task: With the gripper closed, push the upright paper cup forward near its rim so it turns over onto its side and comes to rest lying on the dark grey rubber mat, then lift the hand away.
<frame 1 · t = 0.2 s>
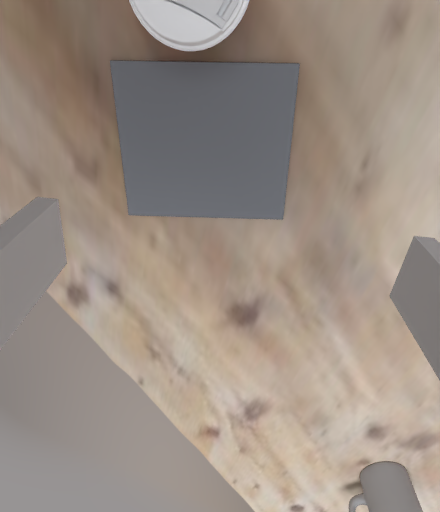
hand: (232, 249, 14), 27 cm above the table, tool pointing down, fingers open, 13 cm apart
mug: (373, 475, 69), on the table
rubber mat: (205, 146, 39), on the table
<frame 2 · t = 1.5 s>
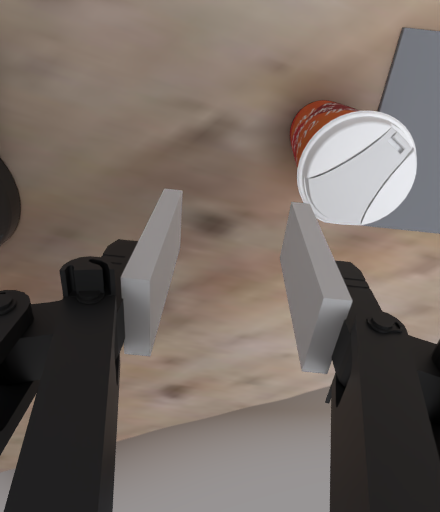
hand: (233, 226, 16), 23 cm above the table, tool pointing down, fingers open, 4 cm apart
paper cup: (318, 131, 35), on the table
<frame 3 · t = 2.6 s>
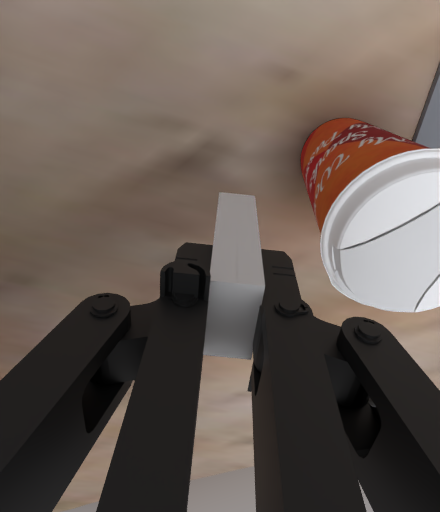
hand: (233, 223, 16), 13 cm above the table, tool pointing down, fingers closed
paper cup: (336, 156, 27), on the table
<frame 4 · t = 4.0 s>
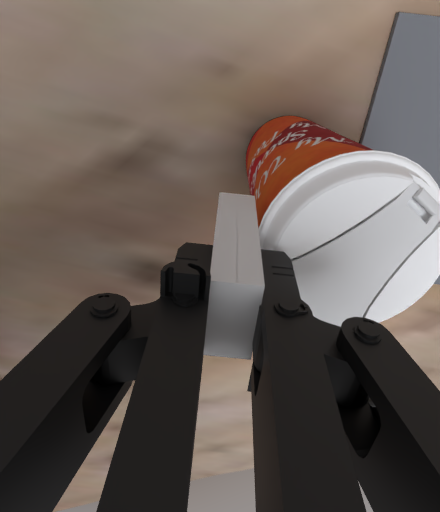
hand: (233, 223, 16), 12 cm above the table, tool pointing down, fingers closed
paper cup: (283, 156, 26), on the table
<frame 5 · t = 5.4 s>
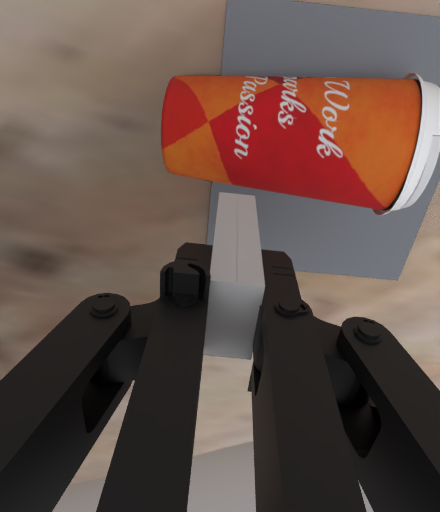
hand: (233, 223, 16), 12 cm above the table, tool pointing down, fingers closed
paper cup: (170, 127, 22), point 3 cm above the table, touching rubber mat
rubber mat: (326, 161, 26), on the table
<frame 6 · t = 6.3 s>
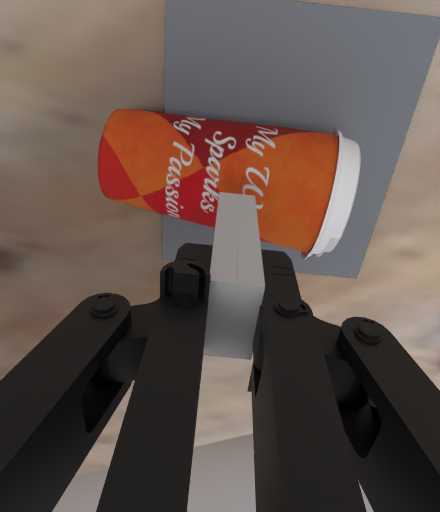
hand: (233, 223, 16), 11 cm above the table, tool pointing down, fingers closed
paper cup: (113, 155, 23), point 3 cm above the table, touching rubber mat
rubber mat: (278, 157, 26), on the table
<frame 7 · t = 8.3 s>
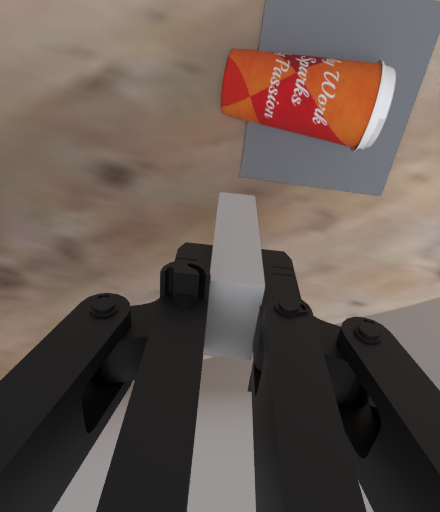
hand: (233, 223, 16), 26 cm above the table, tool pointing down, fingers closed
paper cup: (225, 82, 34), point 3 cm above the table, touching rubber mat
rubber mat: (330, 100, 37), on the table
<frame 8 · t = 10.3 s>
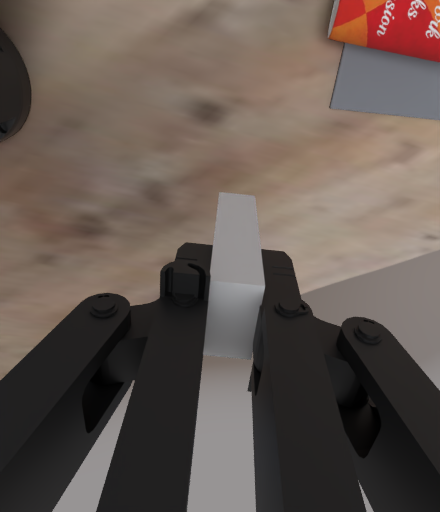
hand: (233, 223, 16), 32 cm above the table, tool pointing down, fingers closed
paper cup: (333, 6, 36), point 3 cm above the table, touching rubber mat
rubber mat: (424, 25, 39), on the table
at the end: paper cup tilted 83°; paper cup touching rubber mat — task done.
